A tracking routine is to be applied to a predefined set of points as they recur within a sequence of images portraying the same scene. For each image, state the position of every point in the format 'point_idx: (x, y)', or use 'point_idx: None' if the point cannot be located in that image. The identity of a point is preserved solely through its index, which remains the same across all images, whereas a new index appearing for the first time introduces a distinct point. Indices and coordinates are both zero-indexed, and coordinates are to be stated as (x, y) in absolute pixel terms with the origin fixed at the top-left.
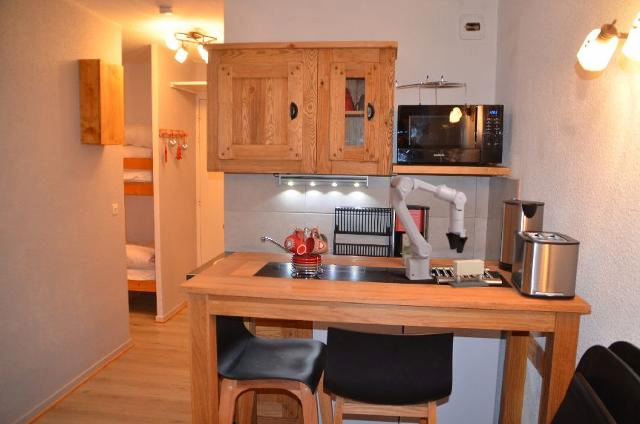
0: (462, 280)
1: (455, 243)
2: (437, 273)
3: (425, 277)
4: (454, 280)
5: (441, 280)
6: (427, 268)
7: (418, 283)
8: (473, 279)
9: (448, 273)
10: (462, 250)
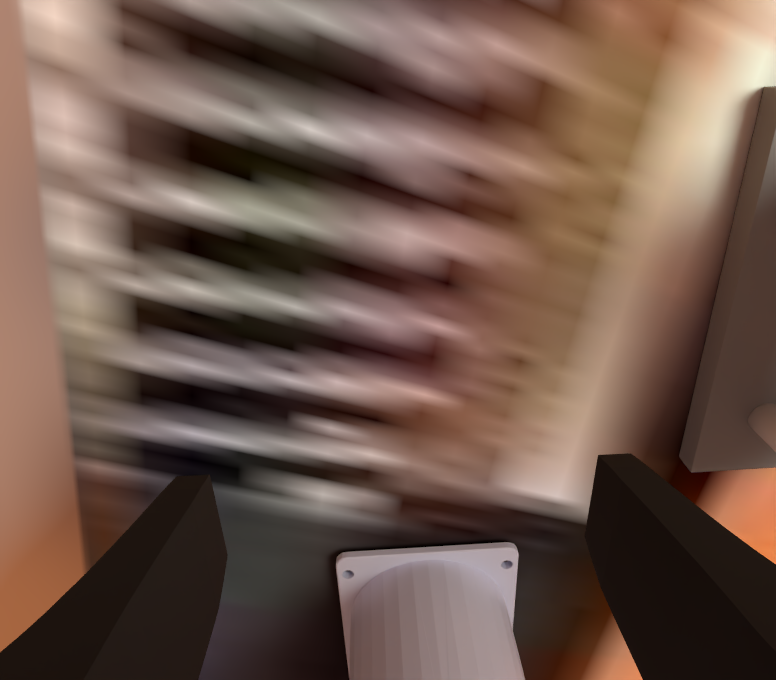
0: (745, 342)
1: (153, 595)
2: (290, 452)
3: (505, 600)
4: (709, 416)
5: (568, 481)
6: (515, 664)
7: (601, 642)
8: (761, 204)
9: (299, 349)
10: (671, 493)
